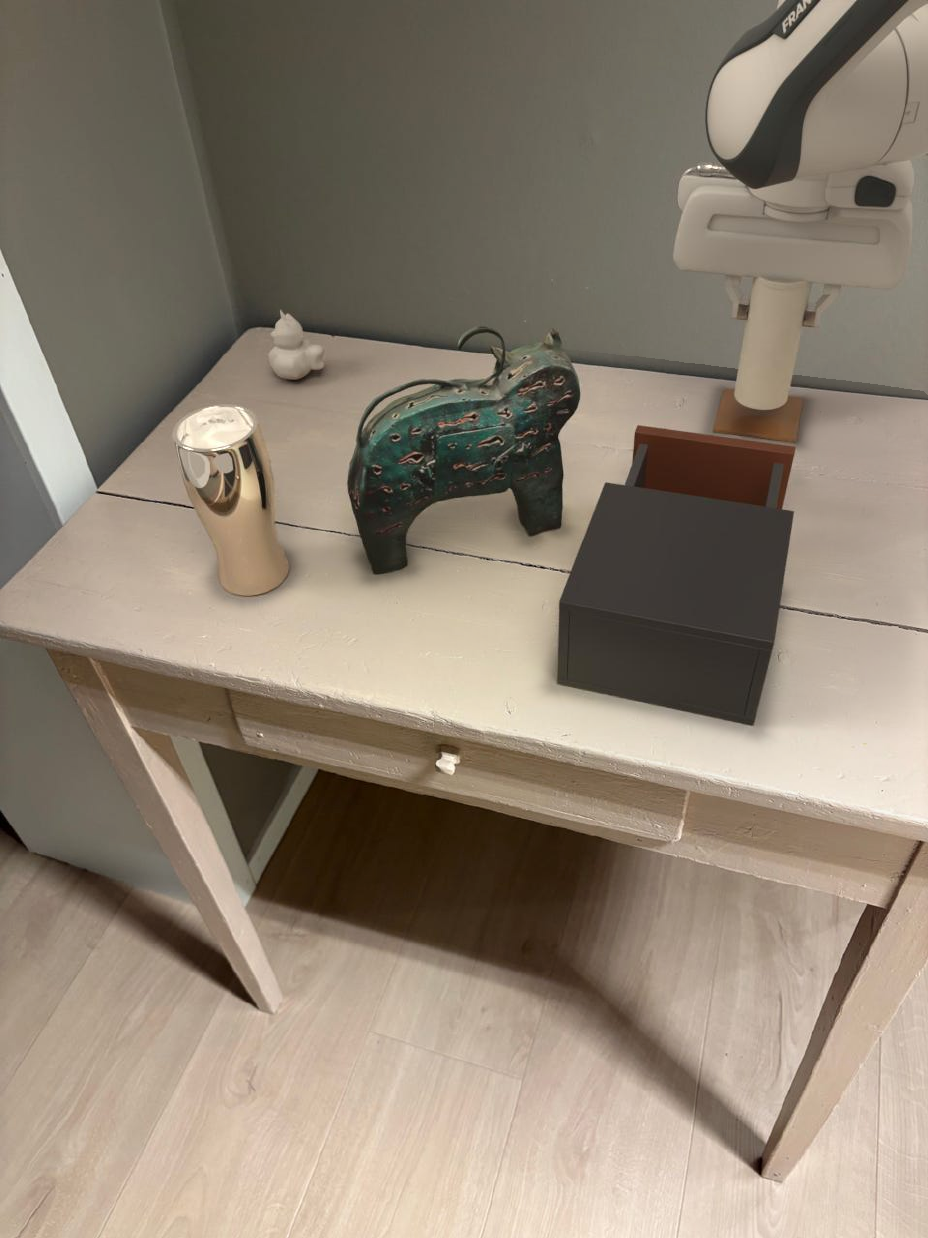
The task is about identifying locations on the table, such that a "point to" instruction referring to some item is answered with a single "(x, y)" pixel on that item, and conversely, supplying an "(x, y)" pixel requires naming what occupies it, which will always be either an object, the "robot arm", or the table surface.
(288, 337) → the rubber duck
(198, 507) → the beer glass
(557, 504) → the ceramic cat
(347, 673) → the table surface
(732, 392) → the coaster
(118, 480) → the table surface
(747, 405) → the container
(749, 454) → the drawer
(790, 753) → the table surface
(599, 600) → the cabinet
